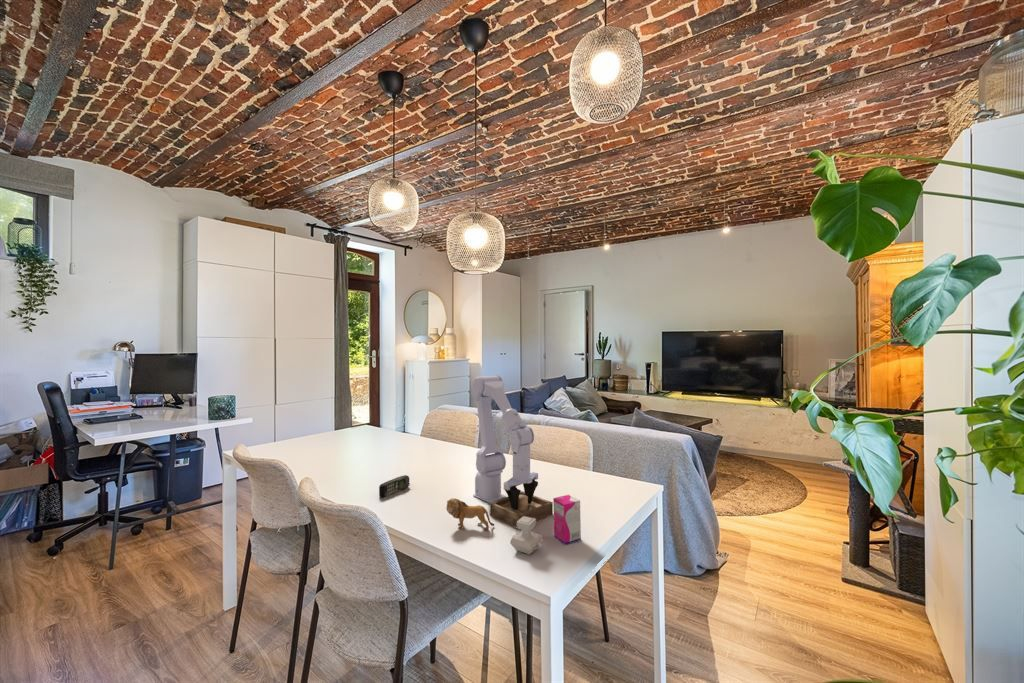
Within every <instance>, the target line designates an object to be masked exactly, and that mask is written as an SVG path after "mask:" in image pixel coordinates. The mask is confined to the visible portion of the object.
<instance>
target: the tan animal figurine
mask: <svg viewBox="0 0 1024 683" xmlns="http://www.w3.org/2000/svg"><path fill="white" fill-rule="evenodd" d="M445 508H446V512H447V513H448V514H449V515H451V516H452V517H453V518H454V519H458V521H459V523H457V525H458V527H457V528H458V530H460V531H461V530H463V528H464V522H465V521H464V520H465V519H474V518H476V517H477V519H478V520H479V522H477V526H478V527H479V526H483V525H484V526H485V527H484V528H483V530H484V531H488V530H490V529H489V528H490V526H492V527H495V523H492V522H491V520H490V517H489V516H490V514H489V512H488V510H487V509H486V508H485V506H483V505H468V504H467V503H466V502H465V501H462V500H460V499H459V498H454V497H453V498H452V497H451V498H449V499H448V500H447V501H446V507H445ZM485 515H486V518H487V519H486V518H485ZM489 525H490V526H489Z"/></svg>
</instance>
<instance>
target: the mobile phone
mask: <svg viewBox="0 0 1024 683" xmlns="http://www.w3.org/2000/svg"><path fill="white" fill-rule="evenodd" d="M410 485H411V484H410V476H409V475H407V474H404V475H400V476H397V477H395V478H392V479H390V480H387V481H385V482H383V483H381V484H379V485H378V488H379V489H378V490H379V491H378V495H379V498H382V499H383V498H386V497H389V496H391V495H394V494H395V493H399V492H401V491H403V490H406V488H407V487H409V486H410Z"/></svg>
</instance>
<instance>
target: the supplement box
mask: <svg viewBox="0 0 1024 683" xmlns="http://www.w3.org/2000/svg"><path fill="white" fill-rule="evenodd" d="M552 499H553V536H554V538H556V540H558V541H560V542H561V543H562V544H564V545H568V544H572V543H577V542H578V541H581V540H582V530H581V528H582V526H581V524H582V523H581V521H582V520H581V500H580V499H578V498H576V497H574V496H573V495H571V494H565V495H561V496H557V497H553V498H552Z"/></svg>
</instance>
